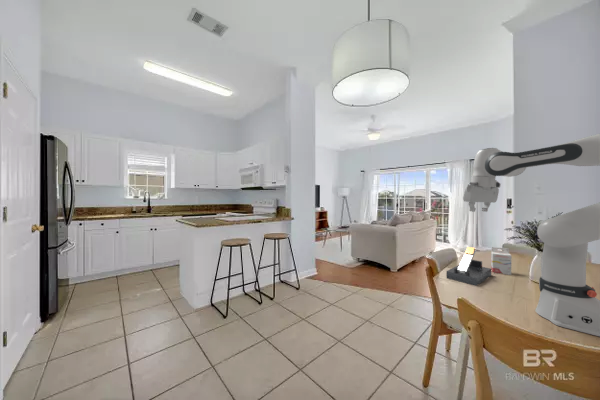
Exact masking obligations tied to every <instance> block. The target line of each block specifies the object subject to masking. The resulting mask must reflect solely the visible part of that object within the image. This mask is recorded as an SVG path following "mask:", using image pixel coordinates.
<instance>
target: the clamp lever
mask: <svg viewBox="0 0 600 400" xmlns="http://www.w3.org/2000/svg"><path fill="white" fill-rule="evenodd" d="M476 252H477V248H476V247H472V246H467V247H466V249H465V252H464V254H463V256H462V259H461V260H460V262H459V264H458V265H459V267H458V269H457V272H458V273H462V274H466V271H468V269H469V266H470V264H471V262H472V260H474V257H475V254H476Z"/></svg>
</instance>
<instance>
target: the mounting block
mask: <svg viewBox="0 0 600 400" xmlns="http://www.w3.org/2000/svg"><path fill="white" fill-rule="evenodd" d="M459 265H460V264H458V265H456V266H454V267H452V268H450V269H448V270H446V279H449V280H452V281H456V282H461V283H465V284H468V285H471V286H476V287H477V286H478V285H480V284H481V283H483V282H484V281H485V280H487V279H489V278H491V276H492V271H491V267H484V266H483V261H482V260H476V259H472V262H471V264H470V266H469V269H468V271H466V274H462V273H458V272H457V269H458V267H459ZM488 277H489V278H488Z"/></svg>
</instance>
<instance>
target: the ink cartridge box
mask: <svg viewBox="0 0 600 400" xmlns="http://www.w3.org/2000/svg"><path fill="white" fill-rule="evenodd" d="M490 255H491V256H490V259H491V260H490V264H491V265H490V268H491V270H492V271H491V273H493V272H495V273H494V274H500V273H503V275H510V276H512V260H513V259H512V254H511V253H510V249H509V248H508V247H507V248H506V247H495V246H492V247H491V253H490Z"/></svg>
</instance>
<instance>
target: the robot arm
mask: <svg viewBox="0 0 600 400" xmlns="http://www.w3.org/2000/svg"><path fill="white" fill-rule="evenodd" d="M544 165H545V166H546V165H570V166H575V167H594V166H595V167H598V166H600V133H597V134H593V135H590V136H586V137H583V138H578V139H576V140H572V141H567V142H564V143H561V144H557V145H553V146H548V147H542V148H537V149H536V148H535V149H531V150H526V151H521V152H520V151H519V152H508V151H502V150H500V149H498V148H497V147H488V148H487V147H486V148H482V149H479V150H478V151H477V152H476V153H475V156H474V159H473V166H472V169H473V170H472V171H473V172H472V174H471V179H470V180H471V182H469V183H468V184H467V186H466V187H465V189H464V193H463V197H462V199H463V202H465V203H466V202H467V203H468V207H469V212H471V213H472V212H474V213H475V212H476V207H475V205H476V203H483V206H482V207H481V211H482V212H486V213H487V212H488V210H489V207H490V206H491V203H496V202H497V201H498V198H499V197H498V196H499V192H500V189H499V188H501V184H502V183H500V182H499V181H497V179H496V177H508V178H509V177H516V176H519V175H521V174H522V173H524V172H525V170H526V169H527V168H531V167H532V168H533V167H538V166H544ZM536 231H537V232H536V234H537V237H538V238H539V240H540V241H541V242H542V243H543V249H542V254H541V256H540V257H541V259H540V262H541V263H540V267H541V269H540V272H541V273H540V277H539V279H538V280H539V282H538V286H539V287H538V288H539V291H540V293H539V299H538V302H537V306H536V308H535V313H537V315H539V316H540V317H542V318H544V319H546V320H548V321H550V322H551V323H552V324H554V325H556V326H557V327H561V328H565V329H570V330H573V331H577V332H581V333H583V334H584V333H585V334H588V335H593V336H597V337H600V299H598V298H597V296H598V294H597V292H596V289H595V287H593V286H592V287H591V286H590V285H588V284H587V258H588V250H589V248H588V247H589V243H591V242H592V243H593V242H594V241H598V240H600V202H596V203H594V204H593V203H592V204H590V205H588V206H585V207H581V208H579V209H576V210H572V211H569V212H566V213H563V214H559V215H557V216H553V217H550V218H548V219H545V220H543V221H542V222H540V224H539V225H538V226H537V230H536Z"/></svg>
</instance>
